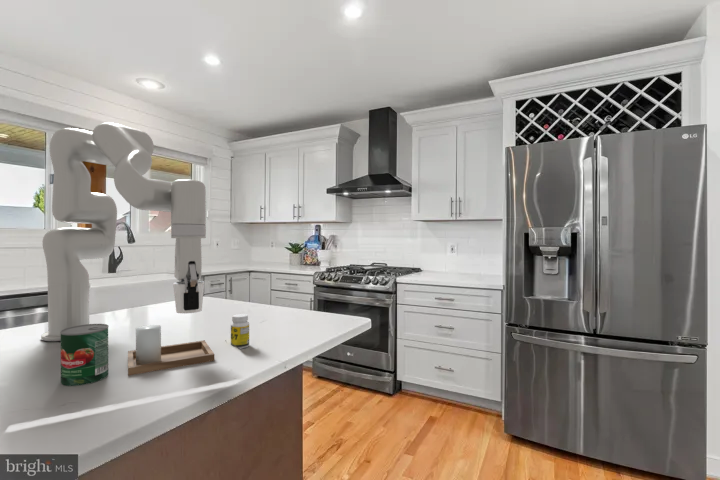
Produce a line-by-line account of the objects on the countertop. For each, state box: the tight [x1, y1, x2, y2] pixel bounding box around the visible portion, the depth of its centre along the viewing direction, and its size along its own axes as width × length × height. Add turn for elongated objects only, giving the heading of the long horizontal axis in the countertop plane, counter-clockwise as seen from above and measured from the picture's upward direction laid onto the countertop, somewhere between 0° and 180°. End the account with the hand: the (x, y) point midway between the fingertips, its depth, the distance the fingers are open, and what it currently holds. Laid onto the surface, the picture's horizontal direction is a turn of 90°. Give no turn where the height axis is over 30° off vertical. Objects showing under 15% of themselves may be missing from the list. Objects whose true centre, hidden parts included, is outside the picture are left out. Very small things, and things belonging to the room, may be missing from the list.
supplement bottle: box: [230, 313, 250, 350], centre depth 99 cm, size 5×5×8 cm
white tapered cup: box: [172, 280, 205, 314], centre depth 89 cm, size 7×7×7 cm
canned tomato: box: [59, 323, 109, 387], centre depth 75 cm, size 8×8×11 cm
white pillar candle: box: [135, 324, 162, 365], centre depth 85 cm, size 5×5×8 cm
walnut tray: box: [127, 340, 215, 377], centre depth 87 cm, size 13×17×2 cm
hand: (189, 306), depth 89 cm, fingers closed on white tapered cup, 6 cm apart
